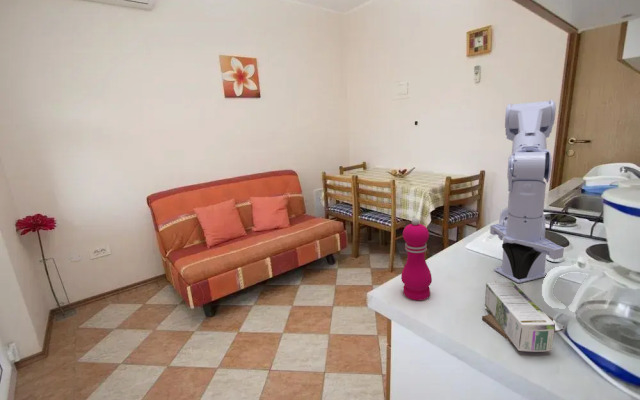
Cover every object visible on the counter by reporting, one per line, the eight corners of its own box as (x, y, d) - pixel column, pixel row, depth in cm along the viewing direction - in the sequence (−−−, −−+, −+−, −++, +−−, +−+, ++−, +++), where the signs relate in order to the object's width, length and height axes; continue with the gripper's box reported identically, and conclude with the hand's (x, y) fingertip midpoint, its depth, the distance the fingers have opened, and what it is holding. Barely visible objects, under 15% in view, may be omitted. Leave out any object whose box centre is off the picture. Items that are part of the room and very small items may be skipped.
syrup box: (510, 304, 68) (554, 352, 54) (483, 305, 68) (519, 352, 54) (512, 281, 66) (558, 324, 52) (484, 282, 67) (522, 325, 53)
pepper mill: (428, 304, 72) (428, 224, 67) (398, 298, 75) (396, 221, 70) (434, 289, 78) (434, 214, 73) (405, 284, 81) (403, 212, 76)
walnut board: (527, 306, 68) (527, 303, 67) (563, 329, 60) (564, 325, 60) (482, 319, 65) (482, 316, 65) (514, 344, 57) (514, 340, 57)
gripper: (479, 208, 65) (477, 266, 68) (543, 228, 51) (536, 300, 54) (506, 203, 66) (503, 260, 70) (576, 221, 53) (567, 291, 56)
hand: (519, 277), depth 62 cm, fingers closed
